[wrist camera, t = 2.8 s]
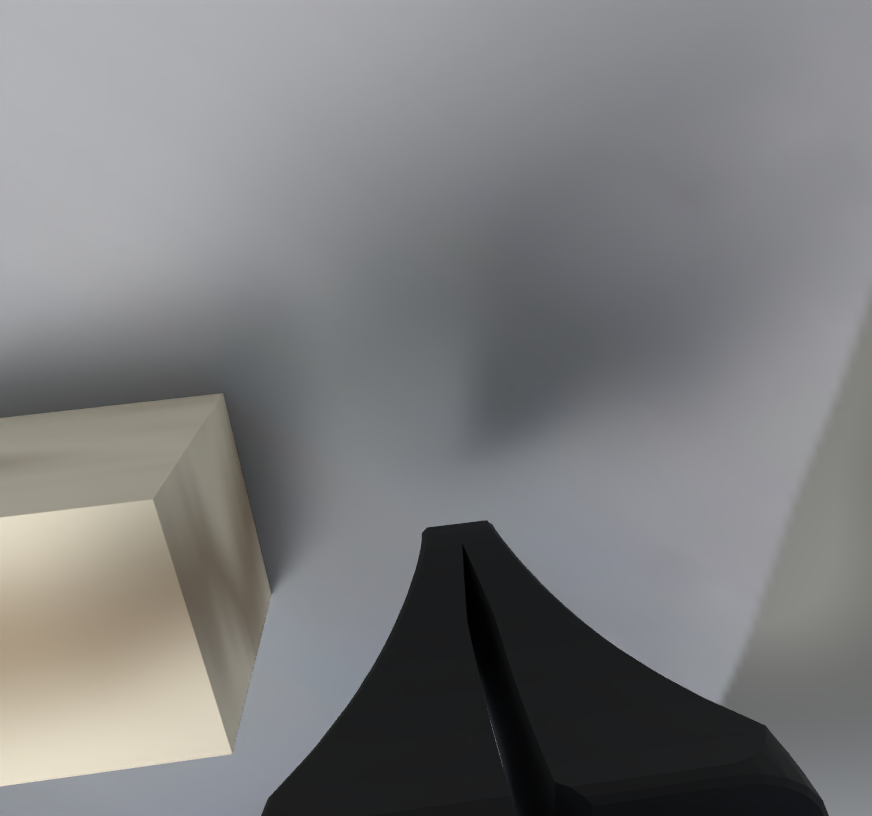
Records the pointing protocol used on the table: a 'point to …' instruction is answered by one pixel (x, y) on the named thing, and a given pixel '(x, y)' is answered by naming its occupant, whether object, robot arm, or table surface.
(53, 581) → the birch block
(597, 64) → the table surface
